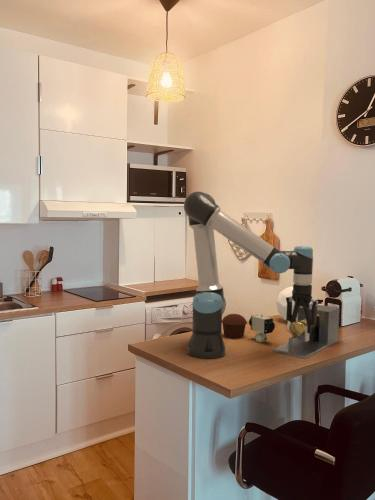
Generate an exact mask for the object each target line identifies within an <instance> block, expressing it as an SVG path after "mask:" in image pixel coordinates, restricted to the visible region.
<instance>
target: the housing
mask: <svg viewBox="0 0 375 500" xmlns="http://www.w3.org/2000/svg"><path fill="white" fill-rule="evenodd" d="M309 307H310V308H309V309H310V315H311V316H312V304H309ZM304 319H306V317H305V312H304V309H303V307H302V306H301V307H299V310H298V321H301V320H304ZM339 323H340V307H336V306H335V307H334V306H329V305H322V304H318V305H317V323H316V326H315V327H314V328H312V330H311V333H310V334H309V341H307V342H306V341H305V332H303V333H302V334H301V335H300V336H293V337H292V336H291V337H289V338H288V342H285V343H283V344H280V346H277V347H275V348H273V349H272V350H273V351H272V352H274V353H278V354H282V355H287V356H292V357H297V358H300V359H307V358H310V357H311V356H313V355H315V354H317V353H319V352H320V351H323V350H324V349H326V348H328V347H329V346H331V345H333V344H335V343H337V342H338V341H339V328H340V327H339V326H340V324H339Z"/></svg>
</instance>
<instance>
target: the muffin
mask: <svg viewBox="0 0 375 500" xmlns="http://www.w3.org/2000/svg"><path fill="white" fill-rule="evenodd" d="M247 324H248V321H247V319H246V318H245V317H244V316H243V315H241V314H237V313H230V314H227V315H226V316H224V317H222V330H223V331H222V332H223V336H224V337H225V338H226V339H227V338H228V339H235V340H238V339H243V337H244V335H245V330H246V325H247Z"/></svg>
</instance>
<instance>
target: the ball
mask: <svg viewBox="0 0 375 500" xmlns="http://www.w3.org/2000/svg"><path fill="white" fill-rule="evenodd" d="M292 290H293V285H292V286H288V287H285V288H284V289H283V290H281V291H280V292H279V293H278V297H277V299H276V301H275V305H276V308H277V312H278V314H279V315H280V316H281V318H282V319H283V320H284V321H287V320H286V317H287V301H286V298H287V297H292ZM309 304H312V302H310V303H309ZM287 322H288V321H287Z"/></svg>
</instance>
